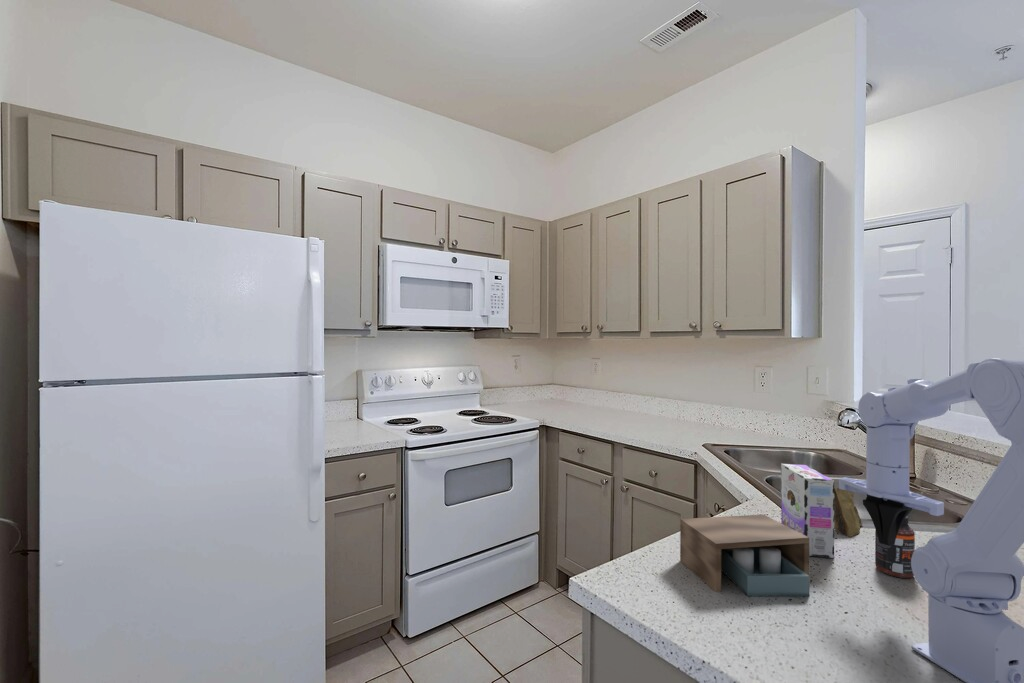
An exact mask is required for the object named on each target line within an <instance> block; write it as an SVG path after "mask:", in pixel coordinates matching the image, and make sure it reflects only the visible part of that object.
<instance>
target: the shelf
mask: <svg viewBox="0 0 1024 683" xmlns="http://www.w3.org/2000/svg"><path fill="white" fill-rule="evenodd" d="M679 523H680V527H679V528H680V534H679V536H680V537H679V538H680V539H679V540H680V541H679V542H680V546H679V550H680V552H679V553H680V554H679V557H680V558H679V561H680V562H681V563H682V564H683V565H685V567H686V568H688V569H689V570H690V571H691V572H692V573H694V575H696V576H697V577H698V578H700V579H701V580H702V581H703V582H704V584H705V583H706V584H707V585H708V586H709V587H710V588H711V589H712V590H713V591H715V593H717V592H722V570H721V549H730V548H744V547H760V546H772V547H775V548H777V549H779V550H780V551H781V555H782V556H783V557H784V558H786V559H787V560H788V561H790V562H791V563H792V564H794V565H795V566H796V567H798V568H799V569H800V570H802V571H803V572H804V573H806V574H807V575H808V576H809V577H810V556H809V537H807V536H805V535H803V534H801V533H799V532H797V531H795V530H793V529H791V528H789V527H787V526H785V525H783V524H781V522H779V521H777V520H775V519H774V518H772V517H769V516H767V515H765V514H762V513H761V514H748V515H747V514H745V515H732V516H731V515H730V516H729V515H728V516H726V515H725V516H712V517H696V518H695V517H694V518H680V522H679Z"/></svg>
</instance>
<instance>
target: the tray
mask: <svg viewBox="0 0 1024 683" xmlns="http://www.w3.org/2000/svg"><path fill="white" fill-rule="evenodd" d="M721 572H723V573H724V574H725V575H726V576H727V577H728V578H729V579H730V580H731V581H732V582H733V583H734V584H735V585H736V586H737V587H738V588H739V589H740V590H741V591H742V592H743V593H744V594H745V595H746V596H747V597H810V575H809V576H808V575H807V574H806V573H804V572H803V571H802V570H800V569H799V568H798V567H796V566H795V565H794V564H792V563H791V562H790V561H788V560H787V559H786V558H784V557H783V556H782V555H781V551H780V550H779V549H777V548H775V547H772V546H760V547H744V548H730V549H721Z"/></svg>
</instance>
